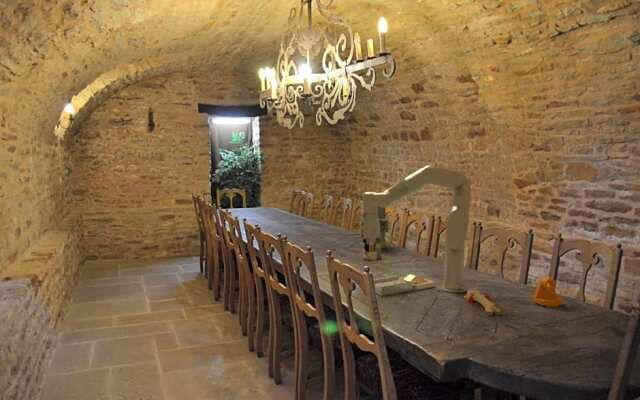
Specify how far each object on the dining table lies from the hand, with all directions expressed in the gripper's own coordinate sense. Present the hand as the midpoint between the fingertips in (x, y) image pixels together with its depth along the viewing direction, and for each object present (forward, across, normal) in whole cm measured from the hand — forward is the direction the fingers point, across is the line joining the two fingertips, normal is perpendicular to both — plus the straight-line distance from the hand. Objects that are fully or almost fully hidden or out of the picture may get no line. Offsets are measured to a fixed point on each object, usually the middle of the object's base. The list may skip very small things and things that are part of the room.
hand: (369, 250), depth 263 cm
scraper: (+4, 0, 0) cm, 4 cm away
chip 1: (+16, +17, -14) cm, 27 cm away
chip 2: (+14, +21, -14) cm, 29 cm away
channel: (+18, +2, -14) cm, 23 cm away
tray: (+17, +19, -14) cm, 29 cm away
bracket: (+18, +50, -69) cm, 87 cm away
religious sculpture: (+18, +60, +73) cm, 96 cm away
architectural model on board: (+18, +36, +46) cm, 61 cm away
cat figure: (+18, +22, -56) cm, 62 cm away
